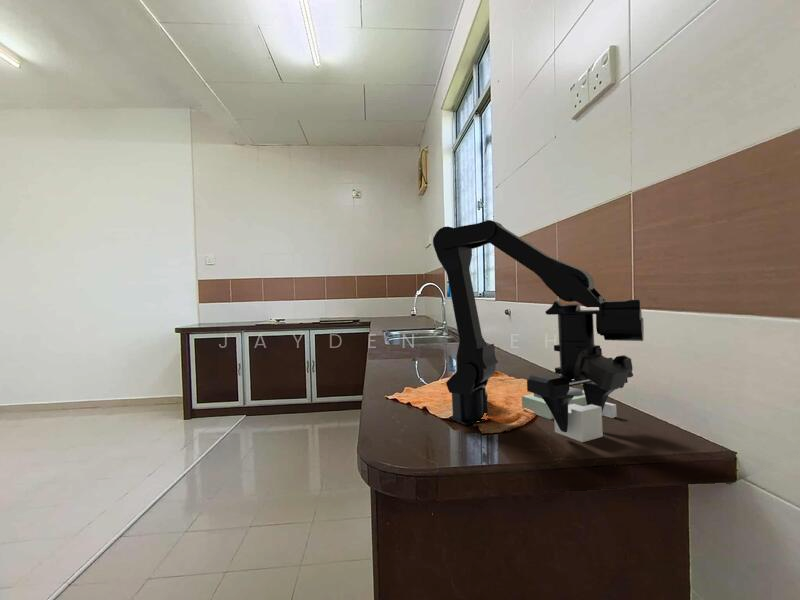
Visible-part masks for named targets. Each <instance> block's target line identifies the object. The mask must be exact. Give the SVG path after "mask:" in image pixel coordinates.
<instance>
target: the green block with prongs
mask: <svg viewBox="0 0 800 600" xmlns="http://www.w3.org/2000/svg"><path fill="white" fill-rule="evenodd" d="M568 394H569V395H573V396H574V397H573V398H572V400H571V401H570V402H569V403H568V405H570V404H577V405H580V406H586V405H587V402H586V398H585V393H584V389H582V388H577V387H572V386H569V392H568ZM522 407H523V408H527V409H530V410H532V411H534V412H535V413H536V414H535V415H536V416H538V417H539V416H540V417H542V418H544V419H548V420H554V417H553V415H552V413H551V411H550V409H549V407H548V406H547V404H546V403H545V401H544V400H543V398H542V396H540V395H537V394H535V393H530V394H526V395H521V408H522ZM602 417H608V418H611V419H615V417H616V418H617V404H615V403H611V402H607V401H606V402H605V405H604V408H603V411H602Z"/></svg>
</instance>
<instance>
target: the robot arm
mask: <svg viewBox="0 0 800 600" xmlns="http://www.w3.org/2000/svg"><path fill="white" fill-rule="evenodd" d="M488 244H491V245H492V246H494V247H495V248H497V249H498V250H500V251H501V252H503V253H504V254H505V255H508V256H509V257H510V258H511V259H513V260H515V261H517V262H518V263H519V264H521V265H522V266H524V267H525V268H527V269H528V270H530V271H532V272H533V274H535V275H536V276H537V277H539V279H540V280H541V281H542V282H543V283H544V285H545V286H546V287H547V288H548V289H549V290H550V291H551V292H553V293H554V294H555V295H556V296H557V297H558V298H559V299H560V300H563V301H564V302H568V303H570V302H571V303H573V302H577V303H578V304H562V303H561V302H560V301H559V300H556V301H555V300H554V301H553V303H552V305H551V306H550V307H549V308H548V309H547V310H545V314H546V315H553V316H554V315H557V324H558V325H557V327H558V344H554V345H553V351H554V352H558V353H559V367H554V373H555V374H553V373H546V372H542V373H538V374H531V375H530V376H528V378H527V379H526V390H527V392H529V393H531V394H534V393H535V394H537V395H540V396H542V398H543V400H544V401H545V403H546V404H547V406H548V407H549V409H550V411H551V413H552V415H553V417H554V419H555V420H556V422H557V424H558V426H559V428H560V430H561V431H562V432H567V429H568V403H569V402H570V401H571V400H572V398H573V397H574V396H573V395H569V394H568V392H569V387H573V386H578V385H582V387H583V388H582V390H584V393H585V398H586V402H587V405H591V404H592V405H596V406H600V407H602V411H603V408H604V405H605V402H607V399H608V398H609V396H610V394H612V393H613V392H614V391H615V390H618V389H623V388H624V386H625V385H626V384H627V383H628V378H632V377H633V376H634V374H633V362H632V358H631V357H628V356H627V355H623V354H622V355H617V356H616V357H615V358H613V357H606V356H604V355H603V352H602V348H601V345H598V344H595V332H594V331H595V330H596V333H597V335H600V336H603V339H604V341H622V342H623V341H625V342H643V341H644V335H645V334H644V332H645V331H644V330H645V329H644V325H645V324H644V317H643V315H642V314H643V313H642V306H641V305H642V304H641V300H640V299H629V300H614V301H613V300H612V301H608V300H606V299H605V298H604V296H603V295H601V294H600V292H598V290H597V289H596V288H595V287H594V285H595V282H594V279H593V276H592V275H591V274H590V273H589V272H588V271H586V270H584V269H582V268H579V267H577V266H575V265H572V264H569V263H567V262H565V261H562V260H559V259H556V258H553V257H551V256H550V255H548V254H546V253H545V252H544V251H542V250H540V249H539V248H537V247H536V246H533V245H532V244H530V242H528V241H526V240H524V239H523V238H521V237H519V236H518V235H516V234H515V233H514V232H511V231H510V230H508V229H507V228H505V227H504V226H503V225H502V224H501V223H499V222H497V221H494V220H491V219H486V220H484V221H481V222H477V223H472V224H468V225H461V226H457V227H451V226H443V227H440V228H439V229H438V230H437V231H436V233H435V234H434V236H433V237H432V245H433V248H434V251H435V255H436V257H437V259H438V261H439V263H440V264H441V267H443V269H444V271H445V272H446V276H447V282H448V287H449V291H450V297H451V303H452V307H453V312H454V318H455V323H456V329H457V330H456V331H457V334H458V335H457V336H458V346H457V352H456V361H457V372H456V371H455V372H454V374H453V375H452V376H451V377H450V378H449V379H448V380H447V381H446V382H445V385H446V387H447V390H448V392H449V393H450V394H451V405H452V406H451V407H452V414H453V416H451V418H450V419H452V420H454V421H456V422H458V423H460V424H462V425H464V426H469V425H473V424H476V423H475V422H477V421H482V420H485V419H481V418H482V417H483V415H484V413H488V414H489V411H488V409H489V408H488V398H487V395H486V393H485V388H483V386H487V384H488V382H489V379H490V378H492V377H493V376H494V374H495V373H496V369H497V366H496V364H499V361H498V359H497V357H496V352H495V351H496V350H495V349H496V348H495V345H494V344H495V343H490V344H488V343H487V342H486V341H485V339H484V338H483V334H482V329H481V324H480V318H479V313H478V309H477V302H476V298H475V293H474V288H473V281H472V276H471V271H470V269H471V268H470V266H471V263H472V262H471V261H472V258H473V250H474V249H477V248H480V247H482V246H485V245H488ZM579 304H580V305H582V306H584V307H585V308H598V309H581V307H580V305H579ZM594 315H595V328H596V329H595V330H594ZM487 419H489V418H487ZM554 419H553V420H554Z"/></svg>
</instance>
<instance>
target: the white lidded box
mask: <svg viewBox="0 0 800 600" xmlns="http://www.w3.org/2000/svg"><path fill="white" fill-rule="evenodd" d="M553 420H554V422H553V423H554V424H553V425H554V433H556V434H559V435H561V436H564V437H567V438H569V439H573V440H574V441H577V442H580V443H584V442H588V441H592V440H595V439H599V438H602V437H604V436H603V415H602V407H600V406H596V405H592V404H591V405H586V406H580V405H577V404H570V405H568V429H567V432H562V431H561V430H560V428H559V426H558V424H557V422H556V420H555V419H553Z"/></svg>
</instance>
